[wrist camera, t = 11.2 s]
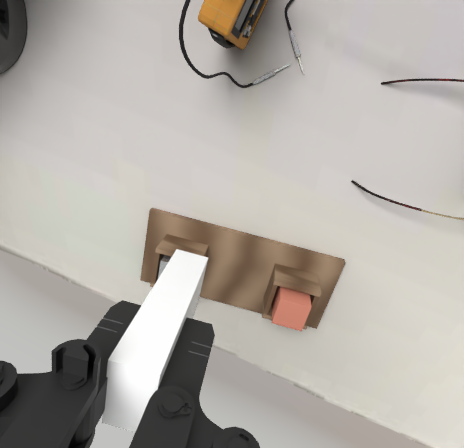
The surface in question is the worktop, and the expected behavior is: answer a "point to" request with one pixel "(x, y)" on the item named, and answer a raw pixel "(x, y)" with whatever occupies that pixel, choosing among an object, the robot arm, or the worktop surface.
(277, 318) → the salmon pink plug
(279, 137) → the worktop surface
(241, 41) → the multimeter
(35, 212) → the worktop surface
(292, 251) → the socket panel
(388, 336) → the worktop surface
